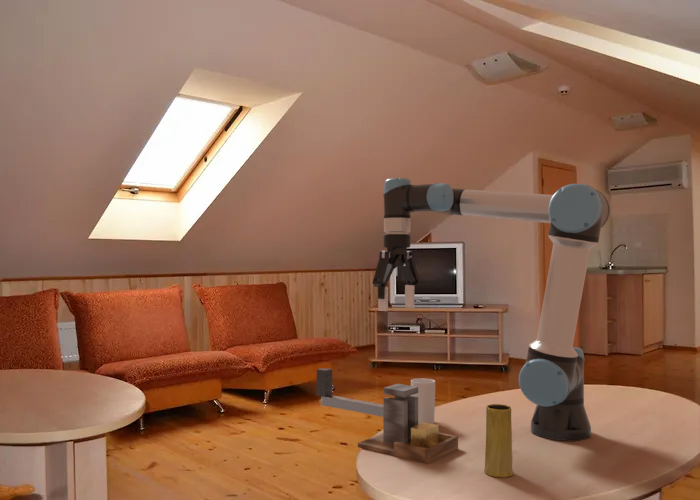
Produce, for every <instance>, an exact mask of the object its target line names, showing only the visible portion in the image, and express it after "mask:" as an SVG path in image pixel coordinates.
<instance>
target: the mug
mask: <svg viewBox="0 0 700 500" xmlns="http://www.w3.org/2000/svg"><path fill="white" fill-rule="evenodd" d="M410 386H416V387H418V393H416V394H413V395H410V396H416V397H418V425H419V424H422V423H424V422H425V423H430V424H435V414H436V413H435V412H436V407H435V406H436V380H435V379H432V378H412V379H410Z"/></svg>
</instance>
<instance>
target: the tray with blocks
mask: <svg viewBox="0 0 700 500" xmlns="http://www.w3.org/2000/svg"><path fill="white" fill-rule="evenodd" d="M416 393H418V387H416V386H411V384H410V385H408V384H403V383H395V384H392V385H388V386H385V387H383V395H387V396H393V397H387V396H385V397H383V403H382V404H383V417H382V419H383V427H382V428H383V429H382V431H383V433H380V434H377V435H375V436H372V437H370V438H368V439H364V440H361V441H359V442H357V448H359V449H364V450H367V451H373V452H377V453H381V454H386V455H389V456H394V457H399V458H403V459H407V460H410V461H415V462H420V463H425V464H428V465H429V464H432V463H434V462H435V461H437V460H439V459H441V458H443V457H445V456H446V455H449V454H451V453H453V452H454V451H456V450H459V436H458V435H453V434H447V433H443V432H442V433H441V432H439V443H438V444H436V445H434V446H432V447H429V448H423V447H418V446H413V445H411V427H414V426H416V425H418V397H416V396H411V395H413V394H416Z"/></svg>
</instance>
